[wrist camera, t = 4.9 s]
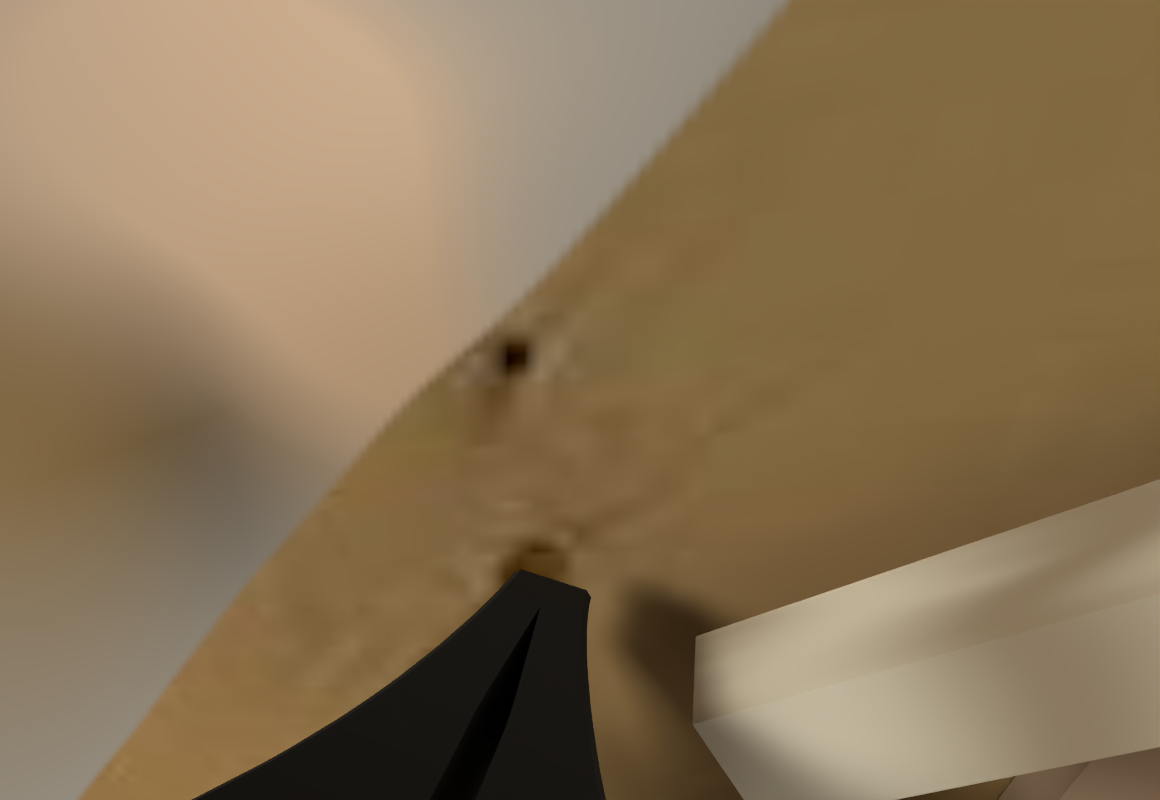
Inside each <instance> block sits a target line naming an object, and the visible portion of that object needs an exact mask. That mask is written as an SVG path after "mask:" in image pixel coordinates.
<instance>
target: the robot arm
mask: <svg viewBox="0 0 1160 800" xmlns="http://www.w3.org/2000/svg"><path fill="white" fill-rule="evenodd" d="M590 600H591V597H590V595H589V593H588V592H587V590H584V589H581V588H578V587H575V586H572V585H568V584H565V583H562V582H559V581H556V580H553V579H550V578H547V577H543V576H540V575H537V574H534V573H531V572H528V571H525V570H522V569H521V570H519V571H517V572H514V573H513V575H512V576H511V577H510V578H509V579H508V580H507V582H506V583H505V584H504V585H503V586H502V587H501V588H500V589H499V590H498V591H497V592H496V593H495V594H494V595H493V596H492V597H491V598H490V599H489V600H488V601H487V602H486V603H485V604H484V605H483V606H482V607H481V608H480V609H479V610H478V611H477V612H476V613H475V614H474V615H473V616H472V617H471V618H469V619H468V620H467V621H466V622H465V623H464V624H463V625H461V626H460V627H459V628H458V629H457V630H456V631H455V632H454V633H452V634H451V635H450V636H449V637H448V638H447V639H446V640H445V641H443V642H442V643H441V644H440V645H439V646H437V647H436V648H435V649H434V650H432V651H431V652H430V653H429V654H427V655H426V656H425V657H424V658H422V659H421V660H420V661H418V662H417V663H416V664H415V665H413V666H412V667H411V668H409V669H408V670H407V671H406V672H404V673H403V674H402V675H401V676H399V677H398V678H397V679H395V680H394V681H392V682H391V683H390V684H388V685H387V686H386V687H384V688H383V689H381V690H380V691H379V692H377V693H376V694H374V695H373V696H371V697H370V698H369V699H367V700H366V701H364V702H363V703H361V704H360V705H358V706H357V707H355V708H354V709H352V710H351V711H349V712H348V713H346V714H345V715H343V716H342V717H340V718H338V719H337V720H335V721H334V722H332V723H330V724H329V725H327V726H325V727H324V728H322V729H320V730H319V731H317V732H316V733H314V734H312V735H311V736H309V737H307V738H306V739H304V740H302V741H301V742H299V743H297V744H296V745H294V746H292V747H291V748H289V749H287V750H285V751H284V752H282V753H280V754H278V755H277V756H275V757H273V758H271V759H269V760H268V761H266V762H264V763H262V764H260V765H258V766H256V767H254V768H253V769H251V770H249V771H247V772H245V773H243V774H241V775H239V776H237V777H235V778H233V779H231V780H229V781H227V782H225V783H223V784H221V785H219V786H218V787H216V788H214V789H212V790H210V791H208V792H206V793H204V794H202V795H200V796H198V797H196V798H194V799H192V800H606V799H605V794H604V789H603V784H602V779H601V773H600V768H599V762H598V756H597V750H596V743H595V736H594V729H593V722H592V714H591V705H590V694H589V682H588V669H587V619H588V610H589V604H590Z"/></svg>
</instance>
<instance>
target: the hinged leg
mask: <svg viewBox="0 0 1160 800" xmlns="http://www.w3.org/2000/svg"><path fill="white" fill-rule="evenodd" d="M692 725H693V726H694V728H695V729H696V731H697V732H698V734H699V735H700V736H701V738H702V739H703V741H704V742H705V744H706V745H707V747H708V748H709V750H710V751H711V753H712V754H713V755H714V757H715V758H716V760H717V761H718V763H719V764H720V766H721V767H722V769H723V770H724V772H725V773H726V774H727V776H728V777H729V779H730V780H731V782H732V783H733V785H734V786H735V788H736V789H737V791H738V792H739V794H740V795H741V796H742V798H743V799H744V800H897V799H902V798H907V797H912V796H917V795H922V794H927V793H932V792H937V791H942V790H947V789H952V788H957V787H962V786H967V785H972V784H977V783H982V782H987V781H992V780H997V779H1002V778H1007V777H1012V776H1017V775H1022V774H1027V773H1032V772H1037V771H1042V770H1047V769H1052V768H1057V767H1062V766H1067V765H1072V764H1077V763H1082V762H1087V761H1092V760H1097V759H1102V758H1107V757H1112V756H1117V755H1122V754H1127V753H1132V752H1137V751H1142V750H1147V749H1152V748H1157V747H1160V479H1159V480H1156V481H1153V482H1150V483H1147V484H1144V485H1141V486H1138V487H1135V488H1132V489H1129V490H1127V491H1124V492H1121V493H1118V494H1115V495H1112V496H1109V497H1106V498H1103V499H1100V500H1097V501H1094V502H1091V503H1088V504H1085V505H1082V506H1079V507H1076V508H1073V509H1070V510H1067V511H1064V512H1062V513H1059V514H1056V515H1053V516H1050V517H1047V518H1044V519H1041V520H1038V521H1035V522H1032V523H1029V524H1026V525H1023V526H1020V527H1017V528H1014V529H1011V530H1008V531H1005V532H1002V533H1000V534H997V535H994V536H991V537H988V538H985V539H982V540H979V541H976V542H973V543H970V544H967V545H964V546H961V547H958V548H955V549H952V550H949V551H946V552H943V553H940V554H937V555H935V556H932V557H929V558H926V559H923V560H920V561H917V562H914V563H911V564H908V565H905V566H902V567H899V568H896V569H893V570H890V571H887V572H884V573H881V574H878V575H875V576H873V577H870V578H867V579H864V580H861V581H858V582H855V583H852V584H849V585H846V586H843V587H840V588H837V589H834V590H831V591H828V592H825V593H822V594H819V595H816V596H813V597H810V598H808V599H805V600H802V601H799V602H796V603H793V604H790V605H787V606H784V607H781V608H778V609H775V610H772V611H769V612H766V613H763V614H760V615H757V616H754V617H751V618H748V619H746V620H743V621H740V622H737V623H734V624H731V625H728V626H725V627H722V628H719V629H716V630H713V631H710V632H707V633H704V634H701V635H698V636H696V643H695V668H694V693H693V719H692Z"/></svg>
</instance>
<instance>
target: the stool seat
mask: <svg viewBox="0 0 1160 800" xmlns="http://www.w3.org/2000/svg"><path fill="white" fill-rule="evenodd" d="M998 800H1160V747H1157V748H1152V749H1147V750H1142V751H1137V752H1132V753H1127V754H1122V755H1117V756H1112V757H1107V758H1102V759H1097V760H1092V761H1087V762H1082V763H1077V764H1072V765H1067V766H1062V767H1057V768H1052V769H1047V770H1042V771H1037V772H1032V773H1027V774H1022V775H1017V776H1015V778H1014V779H1013V780H1012V782H1011V783H1010V784H1009V786H1008V787H1007V788H1006V790H1005V791H1004V792H1003V794H1002V795H1001V796H1000V797H999V799H998Z"/></svg>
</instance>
